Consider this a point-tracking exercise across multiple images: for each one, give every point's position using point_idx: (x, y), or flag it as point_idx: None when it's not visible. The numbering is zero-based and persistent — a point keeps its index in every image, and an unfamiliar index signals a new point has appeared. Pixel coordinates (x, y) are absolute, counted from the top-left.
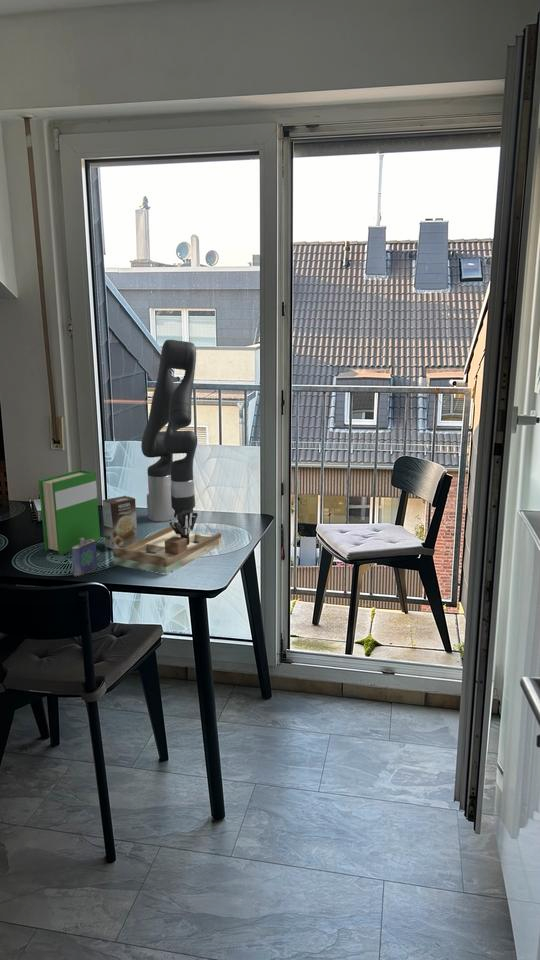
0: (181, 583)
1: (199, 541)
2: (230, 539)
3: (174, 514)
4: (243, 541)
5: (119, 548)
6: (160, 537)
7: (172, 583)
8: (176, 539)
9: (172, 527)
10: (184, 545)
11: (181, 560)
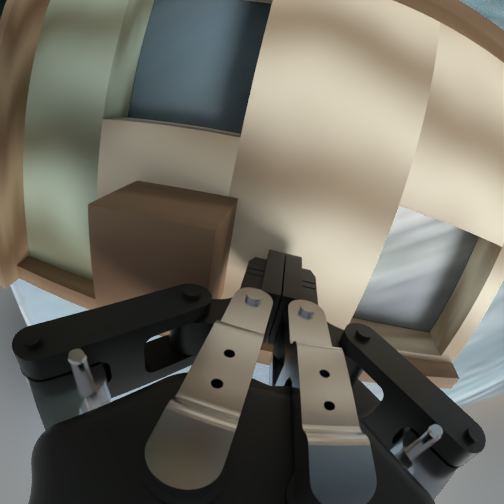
0: (35, 311)
1: (473, 256)
2: (480, 355)
3: (32, 465)
4: (449, 394)
5: (8, 3)
6: (435, 31)
7: (23, 288)
8: (152, 282)
9: (74, 324)
10: None
11: None
